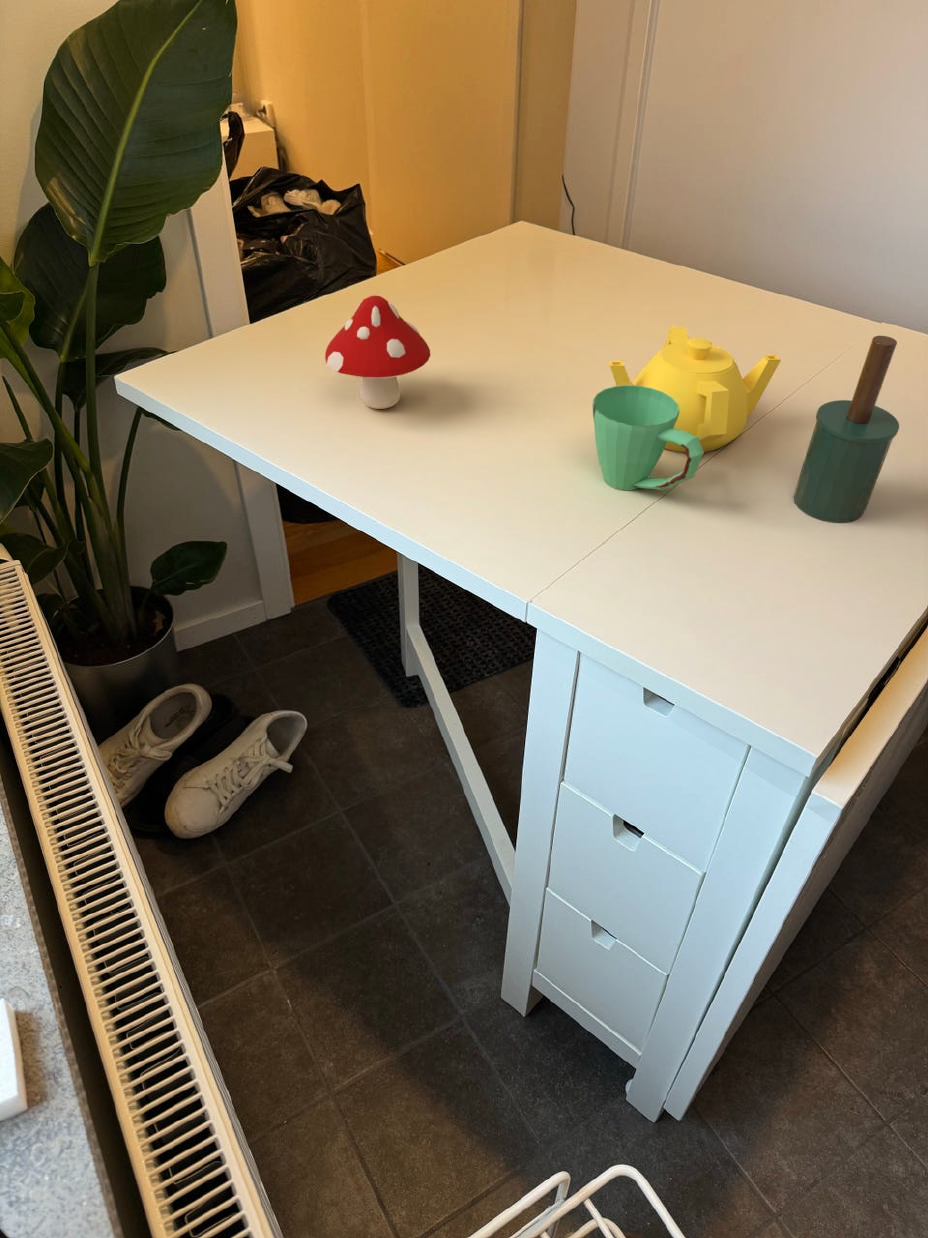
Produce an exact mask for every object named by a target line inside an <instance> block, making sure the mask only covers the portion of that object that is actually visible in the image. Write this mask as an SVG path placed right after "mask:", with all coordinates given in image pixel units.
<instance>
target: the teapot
mask: <svg viewBox="0 0 928 1238" xmlns="http://www.w3.org/2000/svg"><path fill="white" fill-rule="evenodd" d="M781 361H782V359H781V358H780V357H779V356H778V355H777V354H764V355H763V357H762V358H761V359H760V360H759V361H758V362H757V363H756V365H754V366H753V368H751V370H750V371H749V372H748V373H747V374H746V375H745V376H744V377H743V376H742V374H741V371H740V369H739V367H738V364H737V363H736V361H735V359H734V357H733V356H732V354H731V353H729V352H728V351H727V350H725V349H723V348H722V347H720V346H717V345H714V344H713V342H712V341H711V340H709V339H706V338H703V337H692V338H690V337H689V334H688V330H687V328H686V326H669V328H668V331H667V335H666V338H665V342H664V345H663V348H661V349H660V350H659V351H658V352H656V354H655V355H654V356H652V357H651V359H650V360H649V362H647V364H645V366H644V367H643V368H642V369H641V371H640V372H639V373H638V375H637V376H636V378H635V380H634V381H633V383H632V380H631V378H630V376H629V374H628V372H627V370H626V365H625V363H624V361H623V360H610V361H609V362H608V365H609V367H610V371H611V374H612V377H613V380H614V383H615V386H622V385H635V386H644V387H649V388H653V389H656V390H659V391H661V392H664V393H665V394H667V395H669V396H670V397H672V398H673V399H674V400H675V401H676V402H677V404H678V406H679V416H678V419H677V421H676V423H675V426H674V429H678V430H682V431H685V432H688V433H690V434H692V435H694V436H696V437H698V438H699V441H700V444H701V446H702V449H703V453H705V452H706V453H707V452H711V451H715V450H717V449H720V448H722V447H724V446H725V445H727V444H729V443H731V442H732V441H733V440H735V439H736V438H737V437H739V436H740V435H741V434H742V432H743V431H744V429H745V427H746V426H747V420H748V415H749V416H750V415H752V414H753V412H754V410H755V408H756V406H757V405H758V403H759V401H760V400H761V398H762V396H763V394H764V392H765V391H766V388H767V386H768V385H769V383H770V381H771V379H772V377H773V376H774V374H775V372H776V370H777V368H778V366H779V365H780V363H781ZM664 450H667V451H672V452H680V453H686V450H685V449H684V448H682V447H680V446H679V445H677V444H675V443H671V442H667V443H666V446H665V448H664Z"/></svg>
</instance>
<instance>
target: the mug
mask: <svg viewBox="0 0 928 1238" xmlns="http://www.w3.org/2000/svg"><path fill="white" fill-rule="evenodd" d="M591 408H592V417H593V425H594V438H595V439H594V440H595V447H596V451H597V456H598V462H599V466H600V469H601V473H602V476H603V480H604V482H605V483H606V484H607V485H608V486H609V487H611V488H613V489H616V490H620V491H635V490H638V489H650V490H659V491H665V490H667V489H669V488H671V487H674V486H676V485H679V484H681V483H683V482H685V481H687V480H689V479H691V478H693V477H694V476H695V475H696V473H697V472H698V468H699V465H700V463H701V460H702V457H703V455H704V452H703V449H702V446H701V444H700V441H699V438H698V437H696V436H694V435H692V434H690V433H688V432H685V431H682V430H678V429H674V426H675V423H676V421H677V419H678V416H679V406H678V404H677V402H676V401H675V400H674V399H673V398H672V397H670V396H669V395H667V394H665V393H664V392H661V391H659V390H656V389H653V388H649V387H644V386H635V385H622V386H616V385H614V386H611V387H607V388H604V389H602V390H601V391H599V392H598V393H596V394H595V396H594V398H593V399H592V407H591ZM667 442H671V443H675V444H677V445H679V446H680V447H682V448H684V449H685V450H686V452H685V454H686V456H687V457H686V458H687V459H686V462H685V466H684V468H683V470H681V471H680V472H678V473H677V474H675V475H673V476H671V477H669V478H664V477H650V475H651V474H652V473H653V471H654V469H655V467H656V466H657V464H658V462H659V460H660V459H661V458H662V454H663V453H664V451H665V449H664V448H665V446H666V443H667Z"/></svg>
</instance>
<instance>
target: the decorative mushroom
mask: <svg viewBox="0 0 928 1238" xmlns="http://www.w3.org/2000/svg"><path fill="white" fill-rule="evenodd" d="M324 353H325V355H324V359H325V360H324V361H325V365H326V366H327V368H328V369H329V370H330V371H333V372H335V373H339V374H342V375H347V376H352V377H356V378H361V383H360V386H359V398H360V399H359V400H360V402H361V403H363V404H364V405H365V406H367V407H369V408H372V409H377V410H383V409H389V408H391V407H393V406H395V405H396V404H397V403H398V402H399V401H400V399H401V389H400V385H399V382H398V379H397V377H401V376H404V375H408V374H410V373H413V372H415V371H416V370H418V369H420V368H422V367H423V366H424V365H426V363H428V361H429V359H430V358H431V349H430V347H429V345H428V343H427V342H426V340H425V339H424V338H423V337H422V336H421V334H420V332H419V330H418V329H417V327H415V325H413V324H412V323H411V322H409V321H407V320H404V318H403V317H402V316H401V315H400V313H399V311H398V309H397V308H396V306H394V304H393V303H391V302H389V300H387V299H386V298H385V297H383V296H381V295H370V296H368V297H366V298H364V299H362V301H361V302H360V303H359V305H357V308H356V309H355V311H354V313H353V315H352V316H351V318H350V319H348V320H347V321H346V322H345V324H344V325H343V327H342V328H341V329H339V330H338V332H337V333H336V334H335V335H334V337H333V338H332V339H331V340H330V342H329V344H328V345H327V346H326V350H325V352H324Z"/></svg>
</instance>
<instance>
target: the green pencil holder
mask: <svg viewBox="0 0 928 1238" xmlns="http://www.w3.org/2000/svg"><path fill="white" fill-rule="evenodd" d="M892 442H893V439H891V440H889V441H886V442H881V443H859V442H853V441H849V440H845V439H842V438H839V437H836V436H834V435H832V434H830V433H828V432H827V431H825V430H824V429H823V428H822V427H821V426H820V425H819V424H818V423H817V420H816V422H815V424H814V428H813V432H812V434H811V438H810V441H809V444H808V447H807V451H806V454H805V457H804V460H803V463H802V467H801V470H800V473H799V475H798V479H797V481H796V482H797V483H796V486H795V489H794V495H793V500H794V503H795V505H796V506H797V507H798V509H799V510H801V511H802V512H803V513H805V514H806V515H808V516H810V517H812V518H815V519H817V520H819V521H823V522H829V523H834V524H835V523H838V524H844V523H851V522H854V521H857V520H859V519H861V518H862V516H863V515H865V511H866V510H867V508H868V506H869V502H870V500H871V497H872V495H873V492H874V489H875V487H876V484H877V482H878V481H877V480H878V479H879V476H880V473H881V471H882V468H883V465H884V463H885V460H886V458H887V455H888V453H889V449H890V447H891V444H892Z"/></svg>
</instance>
